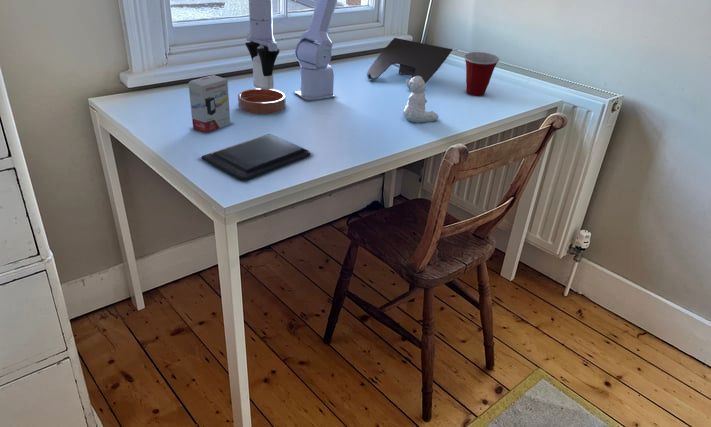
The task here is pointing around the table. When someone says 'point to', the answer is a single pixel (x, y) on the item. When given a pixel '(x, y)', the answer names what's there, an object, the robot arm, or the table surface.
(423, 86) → the white creature statuette
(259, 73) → the eye dropper bottle
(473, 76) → the plastic cup
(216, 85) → the ink box
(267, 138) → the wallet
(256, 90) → the bowl
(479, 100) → the table surface
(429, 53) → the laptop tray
